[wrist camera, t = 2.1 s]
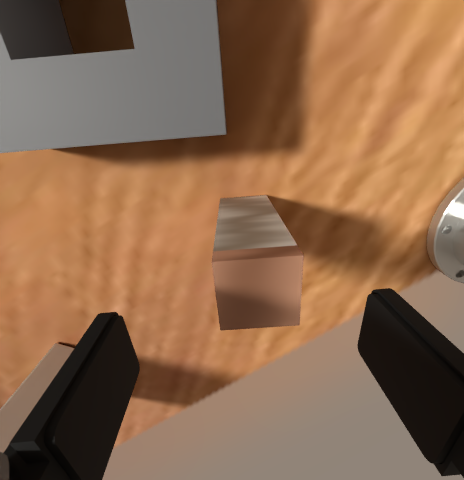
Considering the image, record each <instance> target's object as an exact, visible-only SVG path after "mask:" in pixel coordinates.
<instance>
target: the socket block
mask: <svg viewBox="0 0 464 480" xmlns="http://www.w3.org/2000/svg"><path fill="white" fill-rule="evenodd" d="M125 2H126V7H127V12H128V17H129V23H130V28H131V33H132V38H133V43H134V48H135V49H127V50H116V51H105V52H94V53H83V54H74V53H73V49H72V46H71V42H70V39H69V35H68V32H67V28H66V25H65V21H64V18H63V14H62V11H61V7H60V4H59V0H0V153H6V152H19V151H31V150H43V149H56V148H68V147H80V146H92V145H104V144H117V143H129V142H141V141H153V140H165V139H178V138H190V137H202V136H214V135H226V134H227V129H226V115H225V102H224V89H223V76H222V63H221V50H220V37H219V24H218V10H217V0H125Z"/></svg>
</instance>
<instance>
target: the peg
mask: <svg viewBox="0 0 464 480" xmlns="http://www.w3.org/2000/svg"><path fill="white" fill-rule="evenodd" d="M303 259H304V255H303V253H302V252H301V250H300V249H299V247H298V245H297V244H296V242H295V240H294V239H293V237H292V236H291V234H290V232H289V231H288V229H287V228H286V226H285V224H284V223H283V221H282V219H281V218H280V216H279V215H278V213H277V211H276V210H275V208H274V207H273V205H272V203H271V202H270V200H269V198H268V197H267V195H260V196H247V197H234V198H221V199H220V204H219V212H218V219H217V226H216V234H215V241H214V249H213V256H212V268H213V276H214V284H215V292H216V300H217V307H218V315H219V323H220V330H234V329H249V328H264V327H280V326H295V325H300V308H301V292H302V275H303Z"/></svg>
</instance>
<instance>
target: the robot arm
mask: <svg viewBox="0 0 464 480" xmlns="http://www.w3.org/2000/svg"><path fill="white" fill-rule="evenodd" d="M427 250H428V254H429V257H430V260H431V262H432V263H433V264H434V266H435V267H436V268H437V269H438V270H439V271H440V272H442V273H443V274H445V275H446V276H448V277H449V278H451V279H453V280H455V281H458V282H461V283H464V178H463V179H462V180H461V181H460V182H459V183H458V184H457V185H456V186H455V187H454V188H453V189H452V190H451V191H450V192H449V193H448V194H447V196H446V197H445V198H444V200H443V201H442V202H441V204H440V205H439V207H438V209H437V211H436V212H435V214H434V216H433V218H432V221H431V224H430V227H429V229H428V236H427ZM358 351H359V353H360V355H361V357H362V358H363V360H364V362H365V363H366V365H367V366H368V368H369V369H370V371H371V373H372V374H373V376H374V377H375V379H376V381H377V382H378V384H379V385H380V387H381V389H382V390H383V392H384V393H385V395H386V396H387V398H388V399H389V401H390V403H391V404H392V406H393V408H394V409H395V411H396V412H397V414H398V416H399V417H400V419H401V420H402V422H403V424H404V425H405V427H406V428H407V430H408V431H409V433H410V435H411V436H412V438H413V439H414V441H415V442H416V444H417V446H418V447H419V449H420V450H421V452H422V454H423V455H424V457H425V458H426V459H427V460H428V461H429V462H430V463H433V464H434V465H435V466H436V468H437V469H438V471H439V473H440V474H441V476H448V475H460V474H461V475H462V476H463V478H464V353H462V352H461V351H460V350H459V349H458V348H457V347H456V346H455V345H453V343H451V342H450V341H449V340H448V339H447V338H446V337H445V336H444V335H442V334H441V333H440V332H439V331H438V330H437V329H436V328H435V327H434V326H433V325H431V324H430V323H429V322H428V321H427V320H426V319H425V318H424V317H423V316H422V315H420V314H419V313H418V312H417V311H416V310H415V309H414V308H413V307H412V306H411V305H409V304H408V303H407V302H406V301H405V300H404V299H403V298H402V297H401V296H400V295H398V294H397V293H396V292H395V291H394V290H392V289H390V288H388V289H376V290H373V291H372V293H371V294H369V295H368V297H367V302H366V307H365V311H364V316H363V321H362V326H361V331H360V335H359V340H358ZM138 374H139V362H138V359H137V356H136V353H135V350H134V348H133V345H132V342H131V339H130V336H129V333H128V330H127V328H126V325H125V322H124V319H123V317H122V316H119V315H118V313H116V312H110V313H100V314H98V315H97V316H96V318H95V319H94V321H93V322H92V324H91V325H90V327H89V328H88V329H87V331H86V332H85V334H84V335H83V337H82V338H81V340H80V341H79V343H78V344H77V345H76V347H75V348H74V350H73V351H72V353H71V354H70V356H69V357H68V359H67V360H66V361H65V363H64V364H63V366H62V367H61V369H60V370H59V372H58V373H57V374H56V376H55V377H54V379H53V380H52V382H51V383H50V385H49V386H48V388H47V389H46V390H45V392H44V393H43V395H42V396H41V398H40V399H39V401H38V402H37V404H36V405H35V406H34V408H33V409H32V411H31V412H30V414H29V415H28V417H27V418H26V420H25V421H24V422H23V424H22V425H21V427H20V428H19V430H18V431H17V433H16V434H15V436H14V437H13V438H12V440H11V441H10V443H9V445H8V447H7V448H6V450H5V451H4V453H2V452H0V480H102V478H103V475H104V472H105V469H106V467H107V463H108V461H109V458H110V455H111V452H112V449H113V446H114V444H115V441H116V438H117V435H118V432H119V429H120V426H121V423H122V421H123V418H124V415H125V412H126V409H127V406H128V403H129V400H130V397H131V395H132V392H133V389H134V386H135V383H136V380H137V377H138Z"/></svg>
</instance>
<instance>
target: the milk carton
mask: <svg viewBox="0 0 464 480" xmlns="http://www.w3.org/2000/svg"><path fill="white" fill-rule="evenodd" d="M73 350H74V348H72V347H69V346H65V345H61V344H57V343H55V344H54V345H53V347H52V348H51V349H50V350H49V351H48V353H47V354H46V355H45V356H44V357H43V359H42V360H41V361H40V362H39V363H38V365H37V366H36V367H35V368H34V369H33V371H32V372H31V373H30V374H29V375H28V377H27V378H26V379H25V380H24V381H23V383H22V384H21V385H20V386H19V388H18V389H17V390H16V391H15V392H14V394H13V395H12V396H11V397H10V398H9V400H8V401H7V402H6V403H5V404H4V406H3V407H2V408H1V409H0V452H2V453H4V451H5V450H6V448H7V447H8V445H9V443H10V441H11V440H12V438H13V437H14V436H15V434H16V433H17V431H18V430H19V428H20V427H21V425H22V424H23V422H24V421H25V420H26V418H27V417H28V415H29V414H30V412H31V411H32V409H33V408H34V406H35V405H36V404H37V402H38V401H39V399H40V398H41V396H42V395H43V393H44V392H45V390H46V389H47V388H48V386H49V385H50V383H51V382H52V380H53V379H54V377H55V376H56V374H57V373H58V372H59V370H60V369H61V367H62V366H63V364H64V363H65V361H66V360H67V359H68V357H69V356H70V354H71V353H72V351H73Z"/></svg>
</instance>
